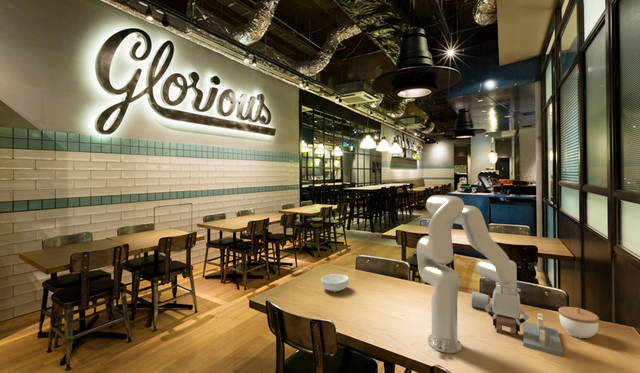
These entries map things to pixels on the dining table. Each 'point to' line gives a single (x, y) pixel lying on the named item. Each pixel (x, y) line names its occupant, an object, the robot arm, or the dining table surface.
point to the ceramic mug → (480, 300)
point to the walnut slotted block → (505, 324)
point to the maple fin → (541, 329)
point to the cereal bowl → (334, 282)
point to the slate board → (550, 339)
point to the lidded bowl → (578, 322)
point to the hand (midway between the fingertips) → (506, 329)
